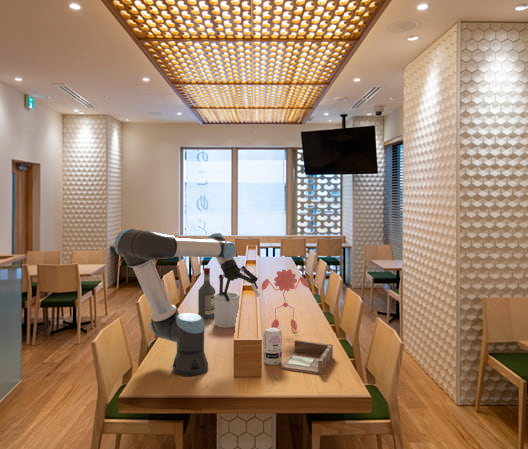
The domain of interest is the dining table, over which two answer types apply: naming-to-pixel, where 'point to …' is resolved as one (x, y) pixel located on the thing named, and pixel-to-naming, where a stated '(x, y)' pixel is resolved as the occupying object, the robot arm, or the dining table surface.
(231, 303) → the robot arm
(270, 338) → the supplement can
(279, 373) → the dining table surface
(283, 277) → the pink flat figure
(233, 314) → the utensil holder
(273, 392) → the dining table surface
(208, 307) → the liquor
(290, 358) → the corner tray
